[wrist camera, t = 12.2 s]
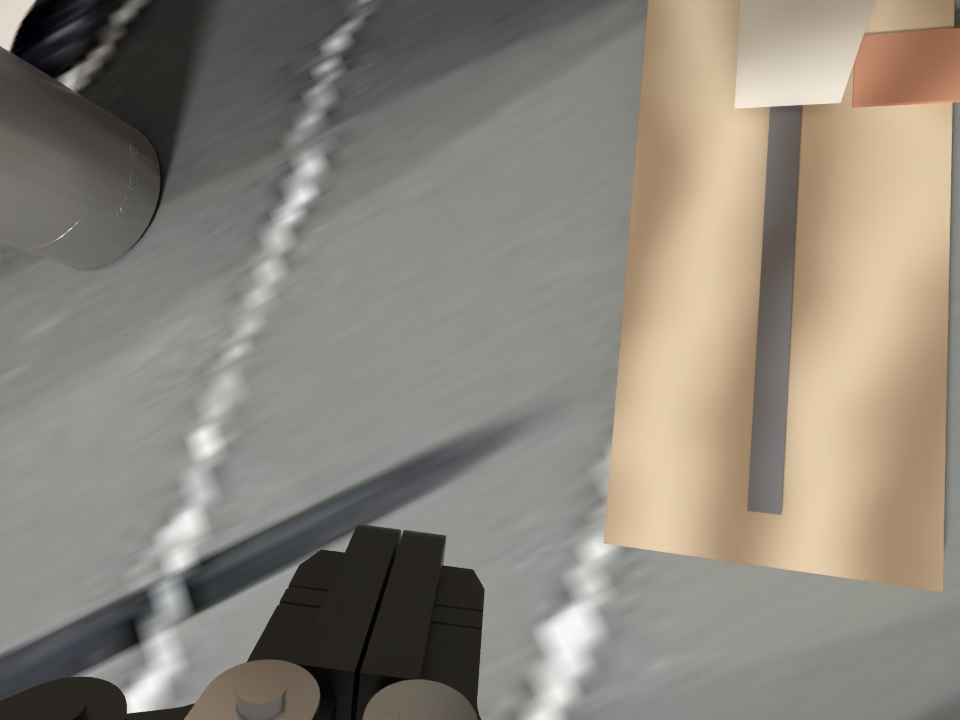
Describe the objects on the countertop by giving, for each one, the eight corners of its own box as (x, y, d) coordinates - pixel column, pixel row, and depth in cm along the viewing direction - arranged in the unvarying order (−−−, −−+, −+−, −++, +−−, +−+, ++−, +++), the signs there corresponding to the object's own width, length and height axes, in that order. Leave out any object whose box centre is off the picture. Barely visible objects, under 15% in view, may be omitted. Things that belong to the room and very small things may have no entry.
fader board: (608, 540, 30) (603, 543, 29) (653, -15, 34) (650, -39, 32) (946, 588, 26) (961, 595, 25) (958, -48, 30) (972, -78, 28)
